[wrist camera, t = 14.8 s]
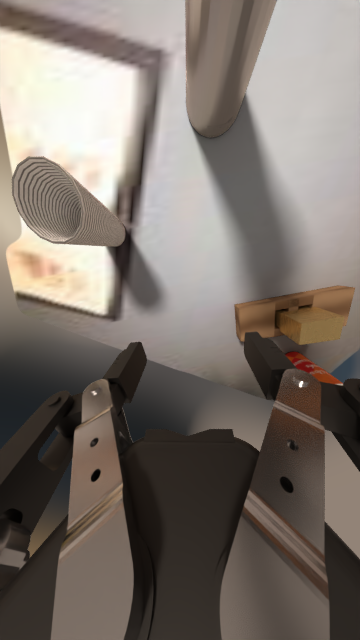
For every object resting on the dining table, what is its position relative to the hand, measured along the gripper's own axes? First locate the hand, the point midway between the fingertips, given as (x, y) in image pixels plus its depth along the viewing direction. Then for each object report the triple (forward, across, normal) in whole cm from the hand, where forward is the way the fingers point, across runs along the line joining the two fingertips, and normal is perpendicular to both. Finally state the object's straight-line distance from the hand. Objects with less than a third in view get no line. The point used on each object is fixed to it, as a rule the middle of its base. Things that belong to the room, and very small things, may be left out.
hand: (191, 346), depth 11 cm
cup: (+27, +16, -13) cm, 34 cm away
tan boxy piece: (+26, -22, +11) cm, 36 cm away
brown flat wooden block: (+26, -22, +11) cm, 36 cm away
